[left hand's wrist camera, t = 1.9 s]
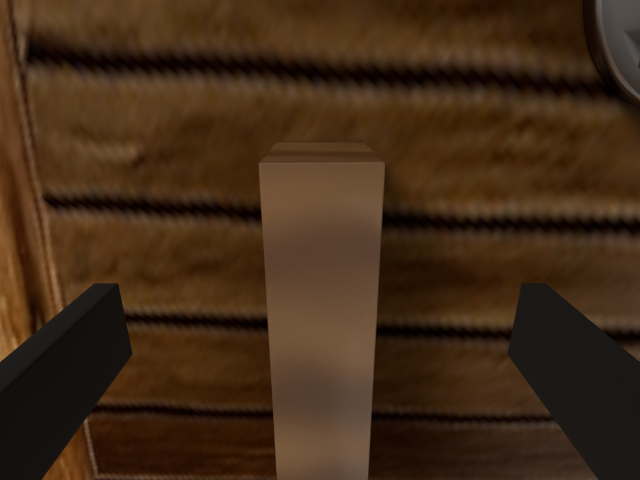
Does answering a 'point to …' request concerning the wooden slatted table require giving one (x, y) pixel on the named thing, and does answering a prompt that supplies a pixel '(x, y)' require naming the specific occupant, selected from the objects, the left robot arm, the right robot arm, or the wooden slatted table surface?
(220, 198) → the wooden slatted table surface
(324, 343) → the bar
